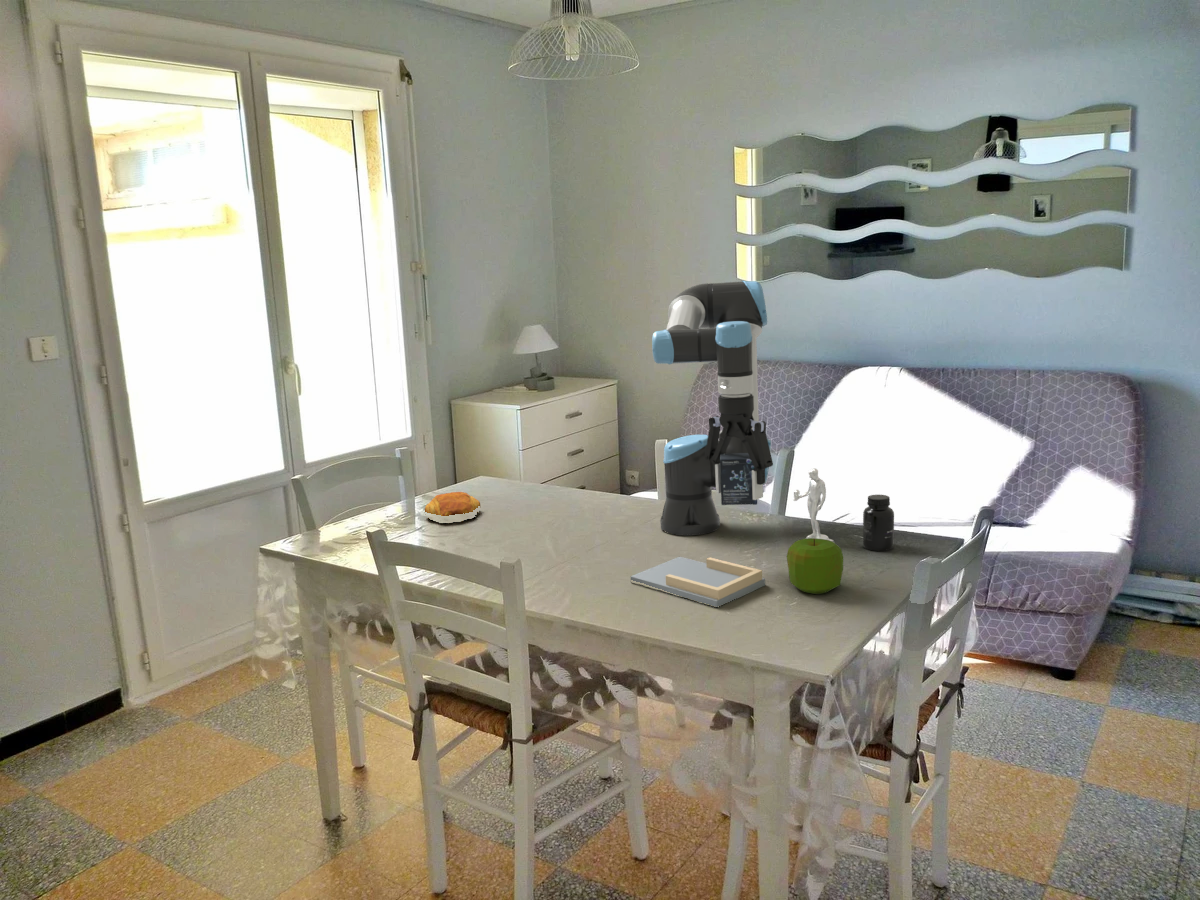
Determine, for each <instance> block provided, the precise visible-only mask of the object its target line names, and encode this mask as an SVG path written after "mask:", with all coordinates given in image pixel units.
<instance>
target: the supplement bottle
mask: <svg viewBox="0 0 1200 900" xmlns="http://www.w3.org/2000/svg"><path fill="white" fill-rule="evenodd" d="M890 501H891V499H890V496H888V495H886V494H871V495H868V496H867V503H866V505H867V507H865V508H864V510H863V512H862V513H863V514H862V517H863V518H862V519H863V520H862V545H863V548H865V549H866V550H870V551H874V552H886V551H890V550H892V549H893V548H894V545H895V512H894V510H893V508H891V507H890V505H891V502H890Z"/></svg>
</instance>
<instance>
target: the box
mask: <svg viewBox="0 0 1200 900" xmlns="http://www.w3.org/2000/svg"><path fill="white" fill-rule="evenodd" d="M753 469H755V468H754V465H753V463H752V461H751V459H750V456H749V454H748V453H732V454H725V453H724V454H721V455H720V473H721V493H720V498H721V499H720V502H721V506H729V505H730V506H733V505H735V506H736V505H738V506H739V505H740V506H741V505H753V506H755V505H758V499H757V500H753V493H752V470H753Z"/></svg>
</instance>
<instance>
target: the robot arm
mask: <svg viewBox="0 0 1200 900" xmlns="http://www.w3.org/2000/svg"><path fill="white" fill-rule="evenodd" d="M767 315H768V313H767V307H766V299H765V295H764V290H763V287H762V285H761V283H760V282H758V281H754V280H752V281H751V280H750V281H745V280H742V281H730V282H713V283H711V282H710V283H707V282H706V283H699V284H696V285H693V286H691V287H688V288H687V289H685V290H682V291H681V292H680V293H678V294H677V295H676V296H675V297H674V298H673V299H672V300H671V302H670V304H669V306H668V310H667V318H668V323H667V325H666V329H662V330H656V331H654V333H653V334H652V336H651V337H652V341H651V345H652V346H651V348H652V351H651V352H652V357H653V358H652V359H653V361H654V363H656V364H657V365H658V364H660V365H661V364H662V365H663V364H664V365H674V364H675V365H676V364H692V363H693V364H694V363H715V362H716V363H717V392H718V394H720V395H719V396H718V399H717V400H718V402H717V404H718V412H719V413H720V416H718V415H717V416H713V417H709V418H708V427H709V428H708V435H707V434H690V435H684V436H681V437H678V438H674V439H672V440H669V441H668V442H667V443H666V444H665V446H664V447H663V460H662V461H663V464H664V480H665V483H664V484H665V485H664V486H665V502H664V505H663V508H662V513H661V516H660V529H662V530H661V531H663V530H664V531H666V532H668V533H667V534H669V533H672V534H671V535H674V534H676V536H699V535H706V534H709V533H712V532H715V531H716V530H718V529H719V528H720V527H721V520H720V519H721V518H720V515H719V513H718V511H717V509H716V505H715V502H714V500H713V499H714V498H713V494H712V492H713V491H712V488H715V492H716V494H721V473H720V455H721V454H724V453H725V454H732V453H748V454H749V456H750V459H751V461H752V463H753V465H754V468H755V469H753V470H752V493H753V500H757V501H758V500H759V499H762V498H764V485H765V484H766V483H767V482H768V479H769V471H770V468H771V467H773V466H774V461H773V458H772V454H771V449H772V440H771V439H769V438H768V436H767V432H766V429H767V423H766V421H764V420H761V421H759V420H760V416H759V390H758V389H759V388H758V387H759V385H758V355H757V354H758V352H757V350H758V349H757V338H758V337H759V336H760V335H762V333H763V327H765V326H767V325H768V316H767ZM721 427H722V430H721ZM664 531H663V532H664ZM666 532H665V533H666Z"/></svg>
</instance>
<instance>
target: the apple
mask: <svg viewBox="0 0 1200 900" xmlns="http://www.w3.org/2000/svg"><path fill="white" fill-rule="evenodd" d="M834 542H835V541H834ZM834 542H832V541H829V540H825V539H817V538H806V539H805V538H801V539H798V540H795V541H794V542H793V543H791V545H790V546H789V547H788V550H787V554H786V562H787V570H788V575H789V576H788V577H789V581H790V583H791V585H792V586H794V587H796V588H797V589H798V590H800V591H801V592H804V593H807V594H811V595H812V594H813V595H819V594H820V595H821V594H825V593H828V592H829V591H831V590H834V589H835V588H837V587H839V586H840V585H841V584H842V583H841V582H842V577H843V576H842V575H843V572H844V554H843V551H842V548H841V547H840V546H839V545H837V544H836V542H835V543H834Z"/></svg>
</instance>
